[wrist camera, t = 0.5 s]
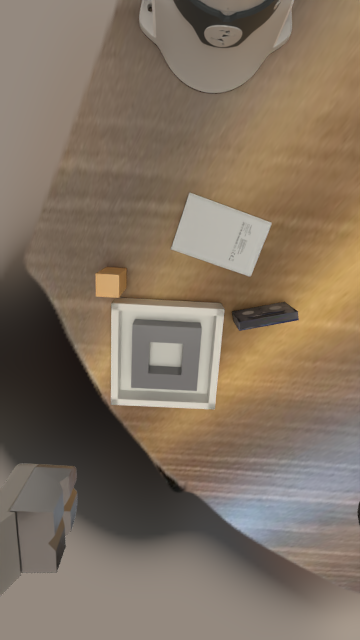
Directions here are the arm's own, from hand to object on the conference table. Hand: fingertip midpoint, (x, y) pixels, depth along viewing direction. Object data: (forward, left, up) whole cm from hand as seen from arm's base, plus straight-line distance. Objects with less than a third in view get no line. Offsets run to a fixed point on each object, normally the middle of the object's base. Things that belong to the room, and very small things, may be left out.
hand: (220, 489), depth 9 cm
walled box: (+12, -2, -42) cm, 44 cm away
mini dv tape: (+5, +12, -43) cm, 45 cm away
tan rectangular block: (+1, -10, -42) cm, 44 cm away
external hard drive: (-6, +5, -43) cm, 44 cm away
